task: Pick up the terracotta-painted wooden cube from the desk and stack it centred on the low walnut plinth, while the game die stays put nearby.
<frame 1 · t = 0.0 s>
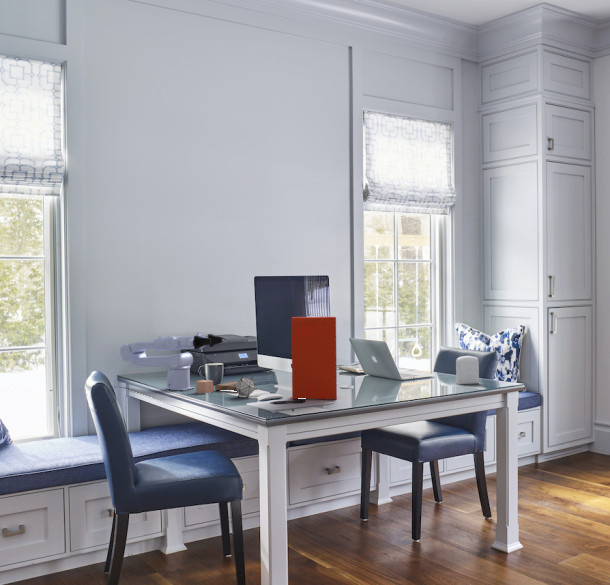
hand: (216, 340, 305), 22 cm above the table, tool horizontal, fingers open, 7 cm apart
game die: (245, 397, 292), on the table
file binder: (314, 398, 287), on the table
grey smart speaker: (467, 384, 324), on the table
plinth: (235, 389, 311), on the table
cube: (204, 392, 304), on the table
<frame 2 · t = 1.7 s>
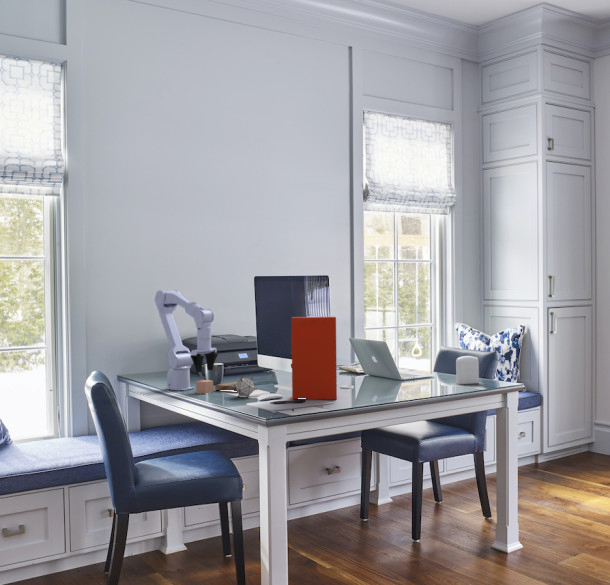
hand: (204, 371, 304), 9 cm above the table, tool pointing down, fingers open, 7 cm apart
nothing on the table moved.
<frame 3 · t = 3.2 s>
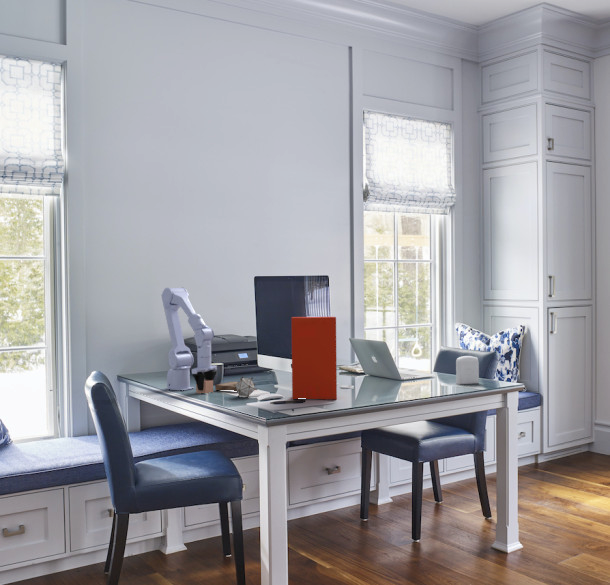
hand: (204, 389, 304), 1 cm above the table, tool pointing down, fingers closed on cube, 5 cm apart
cube: (204, 392, 304), on the table, touching gripper
everything else where it was.
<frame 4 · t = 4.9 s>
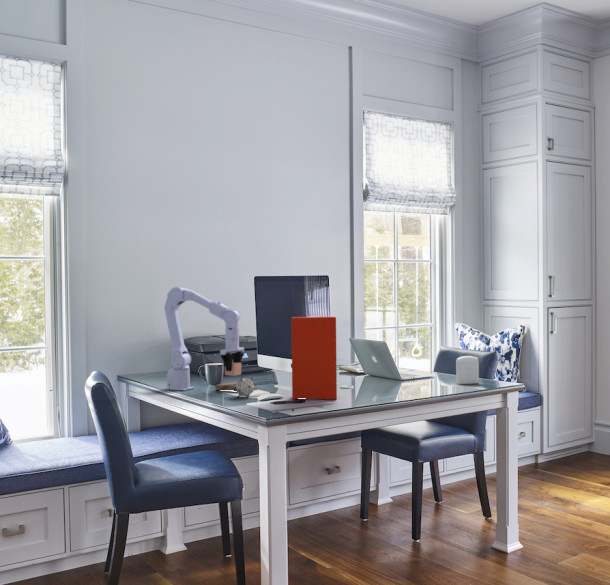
hand: (232, 370, 310), 8 cm above the table, tool pointing down, fingers closed on cube, 5 cm apart
cube: (233, 374, 310), point 7 cm above the table, touching gripper
everything else where it was.
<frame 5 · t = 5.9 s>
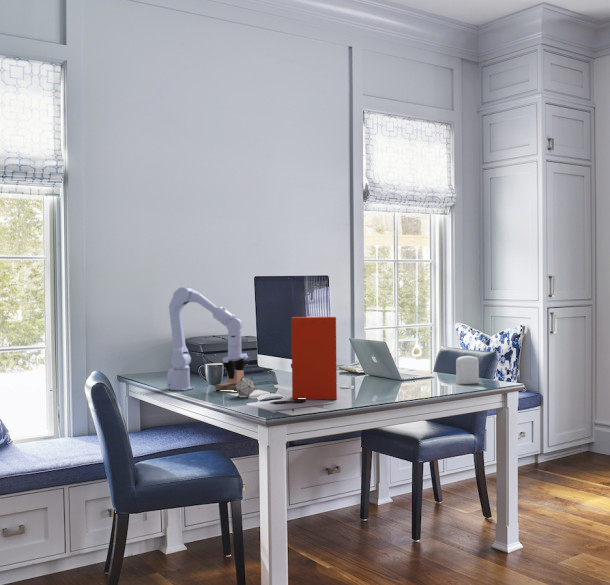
hand: (235, 377, 311), 5 cm above the table, tool pointing down, fingers closed on cube, 5 cm apart
cube: (235, 382, 311), point 3 cm above the table, touching gripper
everything else where it was.
when the fingers open (5 cm above the table, at t = 6.5 s): cube stays where it is, resting on plinth.
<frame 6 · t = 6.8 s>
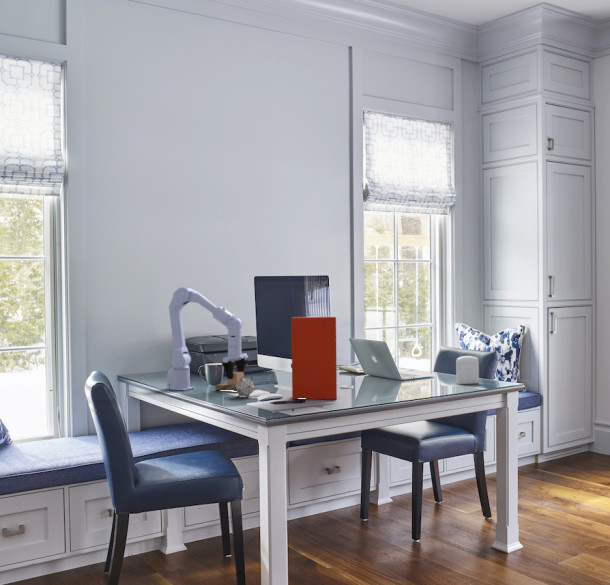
hand: (235, 377, 311), 5 cm above the table, tool pointing down, fingers open, 7 cm apart
cube: (235, 384, 311), point 2 cm above the table, touching plinth
everything else where it was.
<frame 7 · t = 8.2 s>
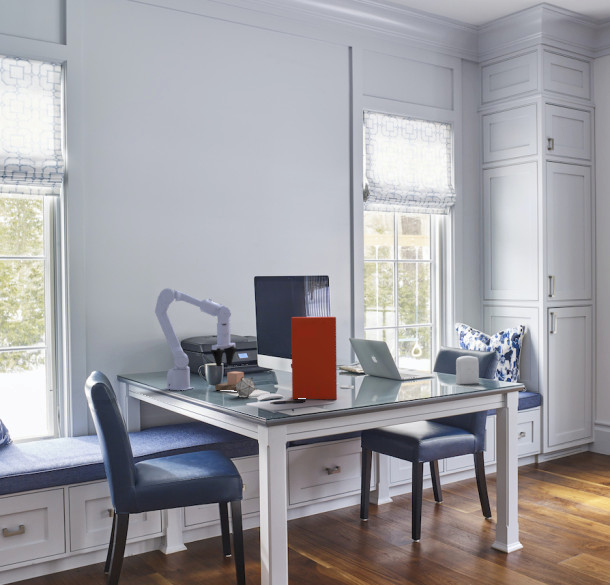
hand: (224, 365, 318), 10 cm above the table, tool pointing down, fingers open, 7 cm apart
nothing on the table moved.
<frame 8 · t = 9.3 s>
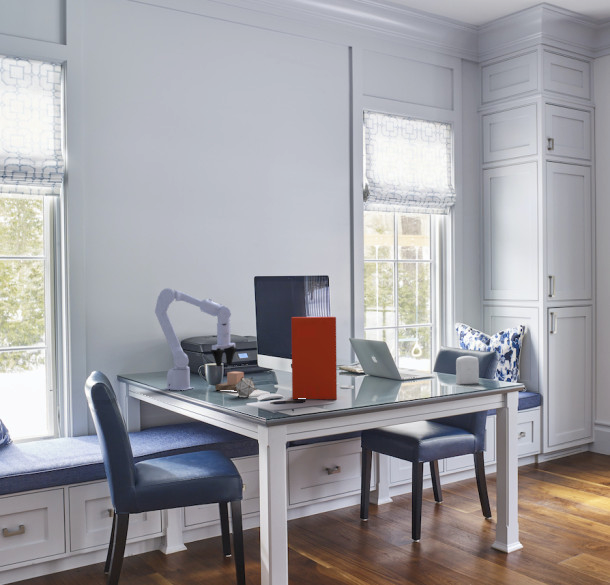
hand: (224, 365, 318), 10 cm above the table, tool pointing down, fingers open, 7 cm apart
nothing on the table moved.
at the end: cube inside the target area on the plinth (0.2 cm from its centre), point 2.5 cm above the plinth's base; cube tilted 0°; the gripper is holding nothing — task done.
